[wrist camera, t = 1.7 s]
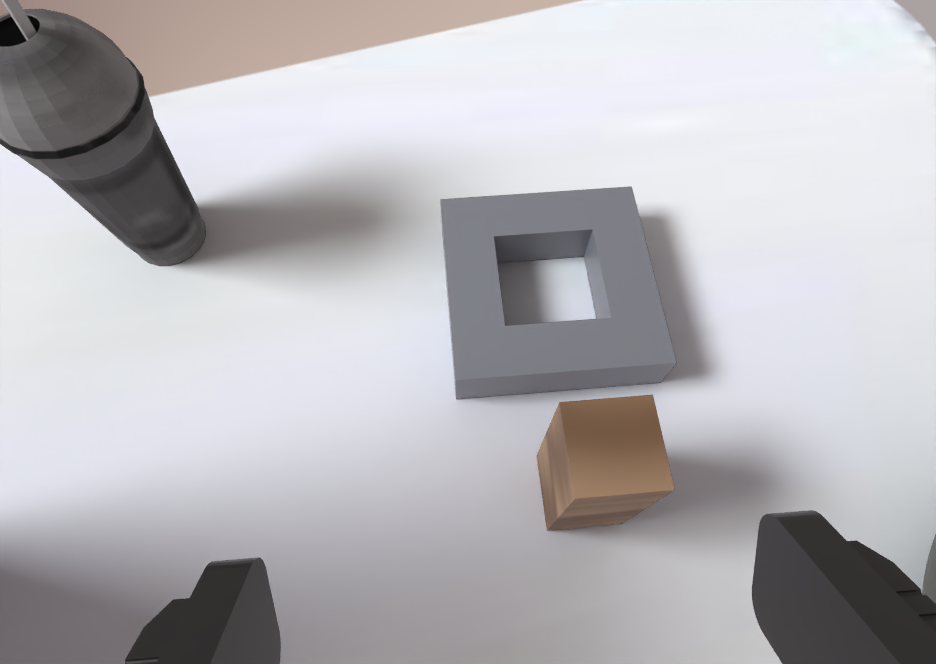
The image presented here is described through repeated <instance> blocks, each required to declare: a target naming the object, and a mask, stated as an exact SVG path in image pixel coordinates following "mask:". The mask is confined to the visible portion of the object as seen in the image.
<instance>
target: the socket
mask: <svg viewBox="0 0 936 664" xmlns="http://www.w3.org/2000/svg"><path fill="white" fill-rule="evenodd" d="M440 201H441V218H442V233H443V245H444V257H445V269H446V281H447V294H448V306H449V318H450V330H451V342H452V354H453V366H454V379H455V391H456V399H464V398H477V397H489V396H501V395H514V394H526V393H539V392H551V391H563V390H576V389H588V388H600V387H613V386H625V385H638V384H650V383H661V381H662V380H663V379H664V378H665V376H666V375H667V374H668V373H669V372H670V370H671V369H672V368H673V367H674V365H675V364H676V359H675V355H674V351H673V347H672V343H671V339H670V335H669V331H668V327H667V323H666V319H665V315H664V312H663V308H662V304H661V300H660V296H659V292H658V288H657V284H656V280H655V276H654V272H653V268H652V264H651V260H650V257H649V253H648V249H647V245H646V241H645V237H644V233H643V229H642V225H641V221H640V217H639V213H638V209H637V205H636V202H635V198H634V194H633V190H632V187H617V188H602V189H587V190H573V191H558V192H543V193H528V194H513V195H498V196H483V197H469V198H454V199H440ZM570 257H584V259H585V264H586V269H587V274H588V279H589V284H590V289H591V294H592V299H593V304H594V309H595V314H596V319H588V320H575V321H562V322H549V323H536V324H522V325H509V326H505V322H504V314H503V306H502V298H501V290H500V282H499V274H498V266H497V263H500V262H514V261H528V260H542V259H556V258H570Z"/></svg>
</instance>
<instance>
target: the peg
mask: <svg viewBox="0 0 936 664" xmlns="http://www.w3.org/2000/svg"><path fill="white" fill-rule="evenodd" d="M537 461H538V469H539V476H540V483H541V490H542V498H543V505H544V512H545V520H546V527H547V530H558V529H569V528H581V527H592V526H603V525H614V524H622V523H624V522H625V521H627V520H629V519H630V518H632V517H633V516H635V515H636V514H638V513H639V512H641V511H643V510H644V509H646V508H647V507H649V506H650V505H652V504H654V503H655V502H657V501H658V500H660V499H661V498H663V497H664V496H666V495H668V494H669V493H671V492H672V491H674V490H675V489H674V484H673V480H672V476H671V471H670V467H669V463H668V458H667V454H666V450H665V445H664V441H663V437H662V432H661V428H660V424H659V419H658V415H657V411H656V406H655V402H654V398H653V395H643V396H631V397H619V398H606V399H594V400H582V401H569V402H559V405H558V407H557V409H556V412H555V414H554V416H553V419H552V421H551V423H550V426H549V428H548V430H547V433H546V435H545V437H544V440H543V442H542V444H541V447H540V449H539V452H538V454H537Z"/></svg>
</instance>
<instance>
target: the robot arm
mask: <svg viewBox="0 0 936 664" xmlns="http://www.w3.org/2000/svg"><path fill="white" fill-rule="evenodd" d="M752 601H753V607H754V611H755V615H756V618H757V621H758V623H759V626H760V628H761V630H762V632H763V633H764V635H765V637H766V638H767V640H768V641H769V643H770V645H771V646H772V648H773V649H774V651H775V652H776V654H777V656H778V657H779V659H780V660H781V662H782V664H936V604H935V603H934V602H933V601H932V600H931V599H930V598H929V597H928V596H927V595H922V593H921V589H920V588H919V587H918V586H917V585H916V584H915V583H914V582H913V581H912V580H911V579H910V578H908V577H907V576H906V575H905V574H904V573H903V572H902V571H901V570H900V569H899V568H898V567H897V566H896V565H895V564H894V563H893V562H892V561H890V560H888V559H887V558H885V557H883V556H881V555H880V554H878V553H876V552H875V551H873V550H871V549H870V548H868V547H866V546H865V545H863V544H861V543H860V542H858V541H846V540H845V539H844V538H843V537H842V536H841V535H840V534H839V533H838V532H837V531H836V529H835V528H834V527H833V526H832V525H831V524H830V523H829V522H828V521H827V520H826V519H825V518H824V517H823V516H822V515H821V514H819V513H818V512H816V511H799V512H786V513H774V514H766V515H764V516H763V517H762V519H761V521H760V524H759V531H758V540H757V549H756V558H755V566H754V575H753V584H752ZM280 648H281V644H280V633H279V627H278V623H277V618H276V613H275V609H274V604H273V599H272V595H271V590H270V585H269V581H268V576H267V571H266V567H265V564H264V562H263V560H262V559H261V558H249V559H237V560H225V561H213V562H211V563H209V564H208V565H207V566H206V568H205V570H204V572H203V574H202V575H201V577H200V579H199V581H198V583H197V585H196V587H195V589H194V591H193V593H192V595H191V597H190V598H188V599H176V600H172V601H171V602H170V603H169V604H168V605H167V606H166V607H165V608H164V609H163V610H162V611H161V612H160V613H159V614H158V615H157V616H156V617H155V618H154V619H153V620H151V621H150V622H149V623H148V624H147V625H146V626H145V627H144V628H143V630H142V632H141V634H140V635H139V637H138V639H137V640H136V642H135V644H134V646H133V647H132V649H131V651H130V653H129V654H128V656H127V658H126V659H125V664H279V663H280Z"/></svg>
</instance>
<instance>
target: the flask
mask: <svg viewBox="0 0 936 664" xmlns="http://www.w3.org/2000/svg"><path fill="white" fill-rule="evenodd" d="M922 595H927V596H928V597H929V598H930V599H931V600H932V601H933V602H934V603H935V604H936V535H935V538H934V540H933V543H932V546H931V550H930V553H929V557H928V561H927V565H926V570H925V575H924V582H923V592H922Z"/></svg>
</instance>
